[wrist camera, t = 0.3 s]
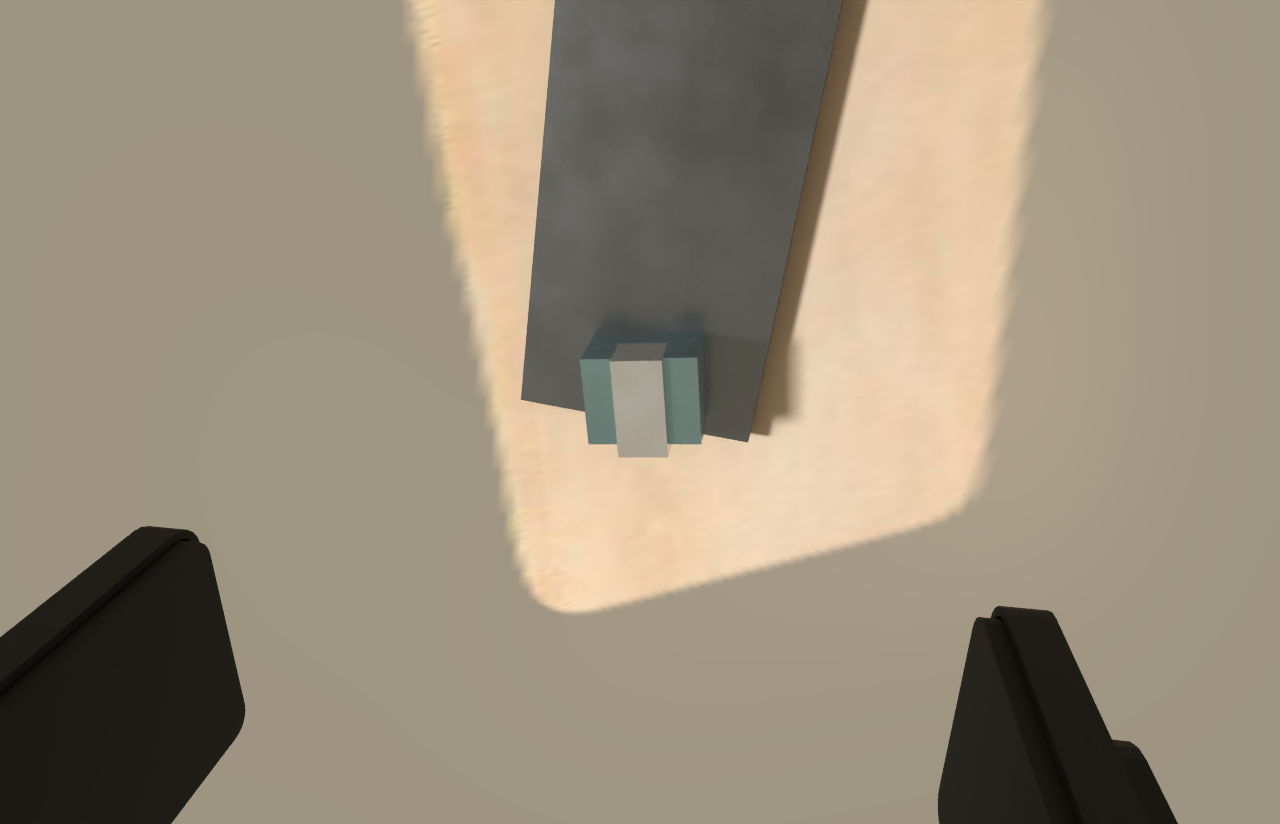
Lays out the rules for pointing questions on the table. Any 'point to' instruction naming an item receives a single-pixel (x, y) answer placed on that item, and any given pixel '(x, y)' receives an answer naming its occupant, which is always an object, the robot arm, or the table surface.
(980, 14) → the table surface
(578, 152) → the workpiece vise
